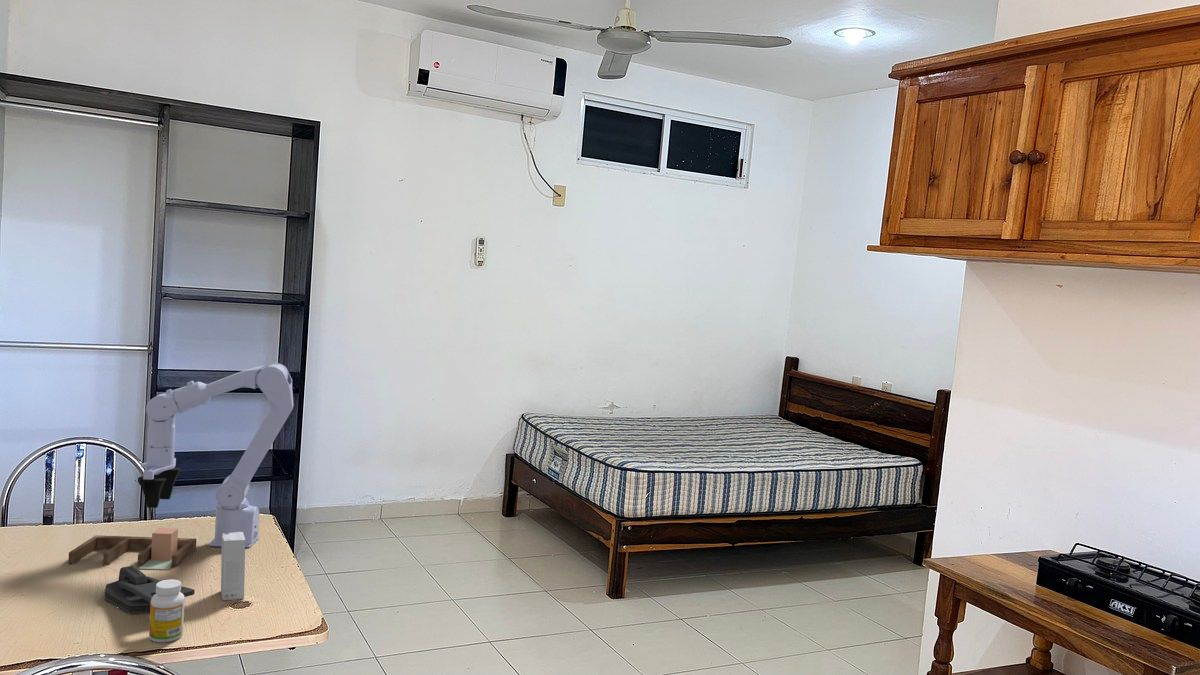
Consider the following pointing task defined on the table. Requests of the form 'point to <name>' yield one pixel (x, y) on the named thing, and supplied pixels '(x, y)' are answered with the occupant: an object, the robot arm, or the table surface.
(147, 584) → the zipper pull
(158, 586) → the supplement bottle
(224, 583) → the skincare box
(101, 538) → the notched rack
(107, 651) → the table surface
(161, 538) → the terracotta block
